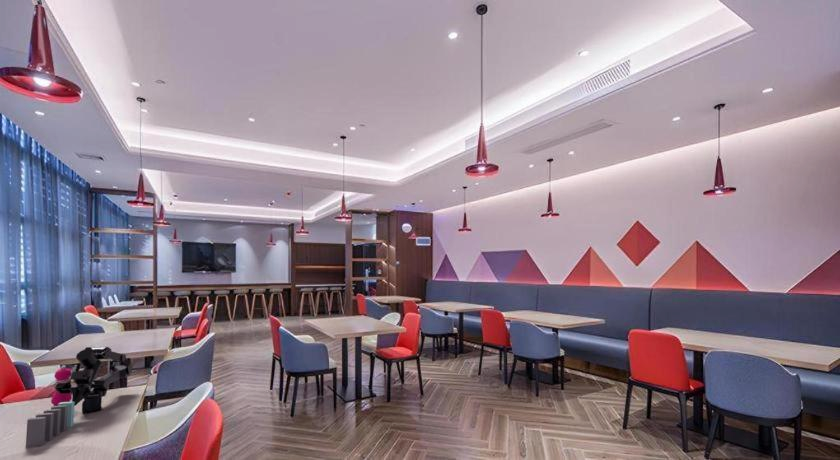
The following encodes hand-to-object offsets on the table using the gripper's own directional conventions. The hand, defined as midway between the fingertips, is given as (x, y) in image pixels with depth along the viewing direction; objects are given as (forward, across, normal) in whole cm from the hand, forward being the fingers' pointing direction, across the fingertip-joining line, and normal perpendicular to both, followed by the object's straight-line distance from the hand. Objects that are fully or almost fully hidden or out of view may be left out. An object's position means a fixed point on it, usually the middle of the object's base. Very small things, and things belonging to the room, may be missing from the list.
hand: (73, 405), depth 171 cm
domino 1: (+20, 0, -10) cm, 23 cm away
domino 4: (+11, 0, -1) cm, 11 cm away
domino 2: (+17, 0, -7) cm, 19 cm away
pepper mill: (-9, -16, +20) cm, 27 cm away
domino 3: (+14, 0, -4) cm, 15 cm away
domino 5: (+8, 0, +2) cm, 9 cm away
